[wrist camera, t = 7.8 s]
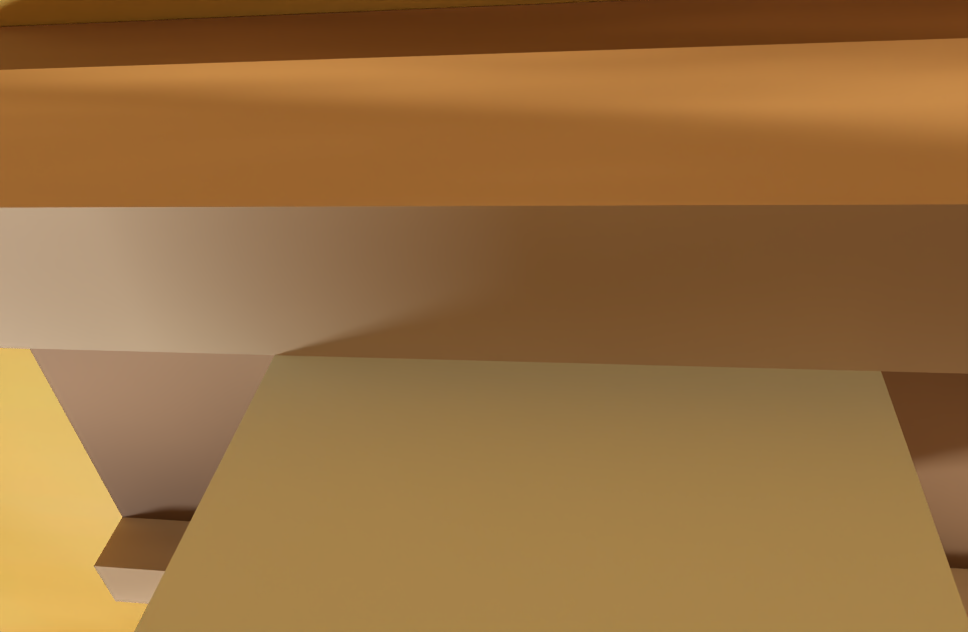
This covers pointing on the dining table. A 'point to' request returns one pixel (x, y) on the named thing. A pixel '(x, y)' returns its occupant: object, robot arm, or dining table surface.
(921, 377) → the cleat board
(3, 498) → the dining table surface
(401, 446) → the cabinet block
